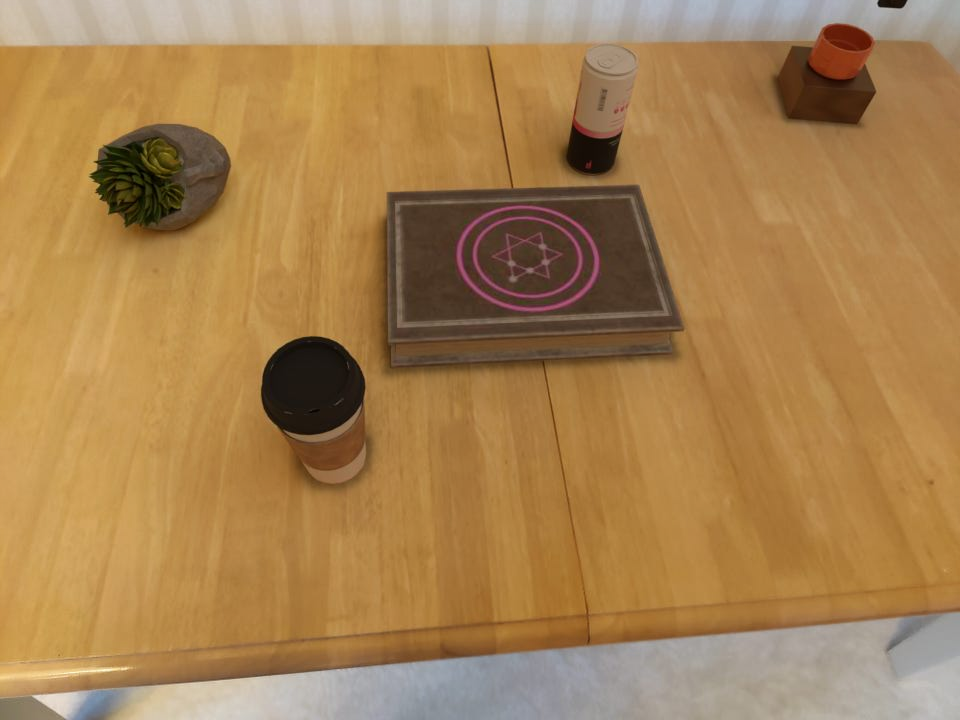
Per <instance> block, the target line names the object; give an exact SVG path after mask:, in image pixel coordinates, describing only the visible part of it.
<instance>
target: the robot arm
mask: <svg viewBox="0 0 960 720" xmlns="http://www.w3.org/2000/svg"><path fill="white" fill-rule="evenodd" d="M908 1H909V0H877V1H876V5H877V6H878V8H882V9H883V8H884V9H903V8H904V7H905V6H906V5H907V2H908Z"/></svg>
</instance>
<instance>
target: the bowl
mask: <svg viewBox="0 0 960 720" xmlns="http://www.w3.org/2000/svg"><path fill="white" fill-rule="evenodd" d="M875 44H876V41H875V39H874V37H873V36H872V35H871V34H870V33H869V32H868V31H866V30H864V29H862V28H860V27H859V26H856V25H853V24H849V23H840V22H839V23H838V22H834V23H830V24H827V25H825V26H822V27H821V30H820V32H819V33H818V35H817V38H816V40H815V42H814V45H813V46H812V47H813V48H812V50H811V53H810V55H809V57H808V62H809V65H810V66H811V67H812V68H813V69H814V71H816V72H817V73H818V74H820V75H822V76H824V77H826V78H830V79H835V80H844V79H850V78H854V77H855V76H857V75H858V74H859V73H860V71H861V69H862V67H863V66H864V64H865V65H866V62H867V60H868V59H869V57H870V55H871V53H872V51H873V49H874V47H875Z"/></svg>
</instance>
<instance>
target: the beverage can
mask: <svg viewBox="0 0 960 720" xmlns="http://www.w3.org/2000/svg"><path fill="white" fill-rule="evenodd" d="M638 72H639V57H638V55H637V53H636V52H634V51H633V50H632V49H630V48H629V47H627V46H626V45H625V46H624V45H622V44H619V43H613V42H603V43H597V44H594V45H592V46H590V47H589V48H588V49H587V50H586V52H585V55H584V57H583V59H582V64H581V69H580V75H579V82H578V87H577V93H576V97H575V105H574V110H573V115H572V121H571V126H570V133H569V138H568V144H567V150H566V161H567V163H568V164H569V166H570V167H572V168H573V169H574V170H575V171H577V172H579V173H582V174H585V175H593V176H594V175H602V174H604V173H607V172H608V171H610V170H611V169H612V168H614V165H615V162H616V159H617V154H618V151H619V146H620V142H621V138H622V134H623V130H624V127H625V123H626V119H627V115H628V111H629V107H630V103H631V98H632V96H633V91H634V88H635V87H634V86H635V82H636V79H637V76H638Z"/></svg>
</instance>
